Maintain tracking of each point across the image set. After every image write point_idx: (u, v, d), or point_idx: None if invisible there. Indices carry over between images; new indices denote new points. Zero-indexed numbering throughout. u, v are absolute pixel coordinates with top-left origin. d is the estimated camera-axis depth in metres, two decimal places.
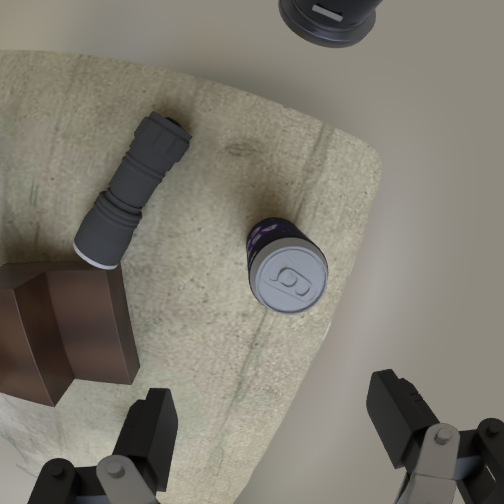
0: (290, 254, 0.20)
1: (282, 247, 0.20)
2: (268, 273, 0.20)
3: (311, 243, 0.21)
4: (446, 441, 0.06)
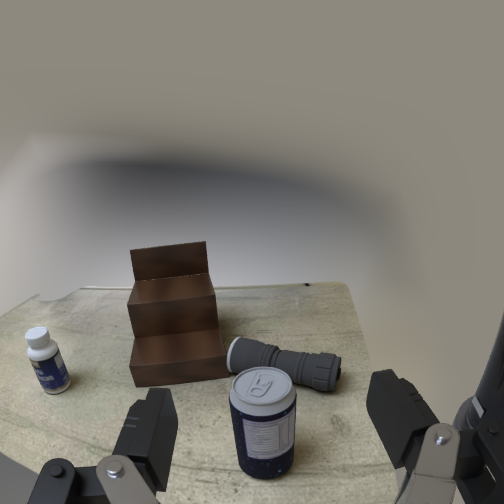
0: (283, 380, 0.24)
1: (287, 374, 0.25)
2: (264, 373, 0.25)
3: (294, 398, 0.23)
4: (446, 441, 0.06)
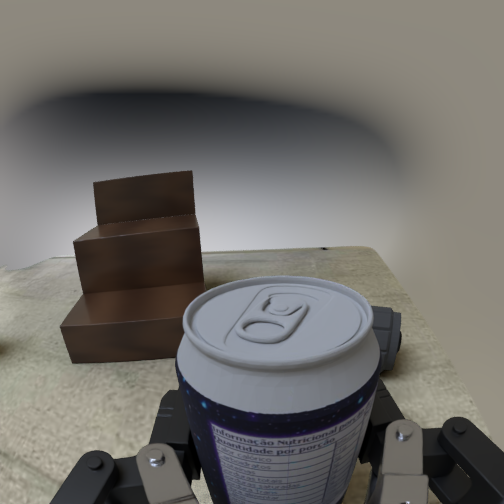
0: (339, 300, 0.08)
1: None
2: (282, 291, 0.09)
3: (379, 354, 0.07)
4: (407, 437, 0.07)
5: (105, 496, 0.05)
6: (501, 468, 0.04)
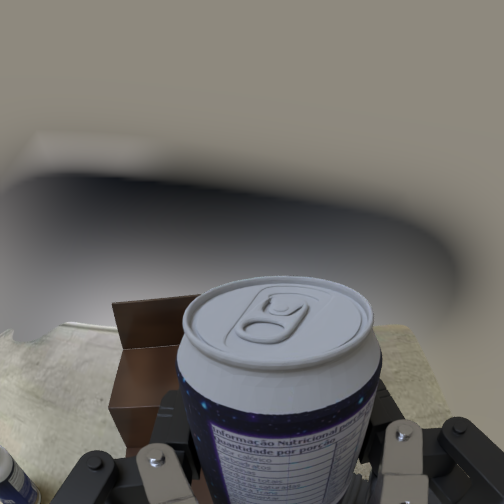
0: (340, 300, 0.08)
1: (347, 287, 0.09)
2: (282, 291, 0.09)
3: (380, 354, 0.07)
4: (407, 437, 0.07)
5: (105, 496, 0.05)
6: (501, 468, 0.04)
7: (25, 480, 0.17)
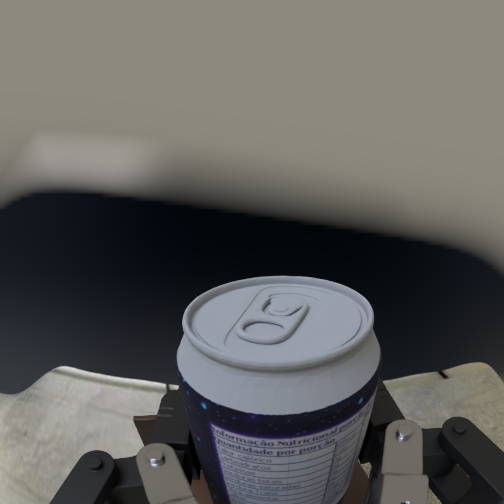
0: (340, 300, 0.08)
1: (347, 287, 0.09)
2: (282, 291, 0.09)
3: (380, 355, 0.07)
4: (407, 437, 0.07)
5: (105, 496, 0.05)
6: (501, 467, 0.04)
7: None
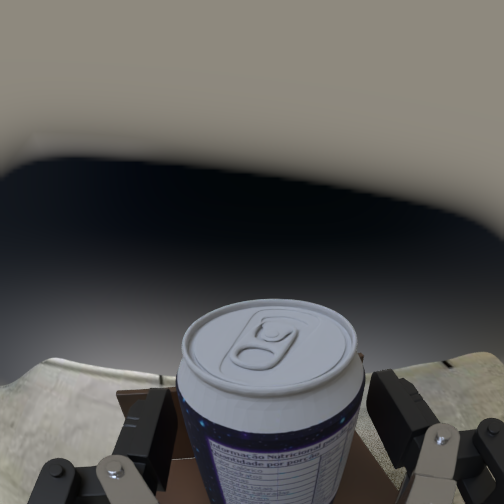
0: (327, 325, 0.09)
1: None
2: (274, 315, 0.10)
3: (363, 377, 0.08)
4: (446, 441, 0.06)
5: (72, 502, 0.05)
6: None
7: None
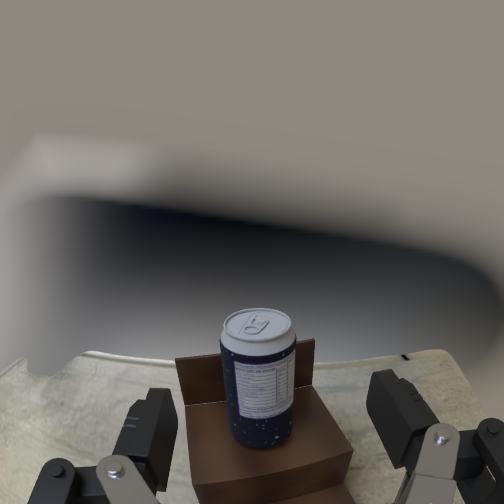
0: (281, 319, 0.23)
1: (285, 314, 0.23)
2: (260, 315, 0.24)
3: (294, 340, 0.21)
4: (446, 441, 0.06)
5: (72, 502, 0.05)
6: None
7: None
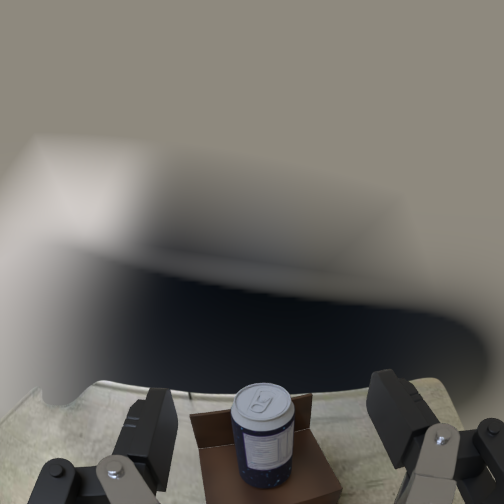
0: (282, 396, 0.25)
1: None
2: (264, 390, 0.26)
3: (293, 414, 0.23)
4: (446, 441, 0.06)
5: (72, 502, 0.05)
6: None
7: None
